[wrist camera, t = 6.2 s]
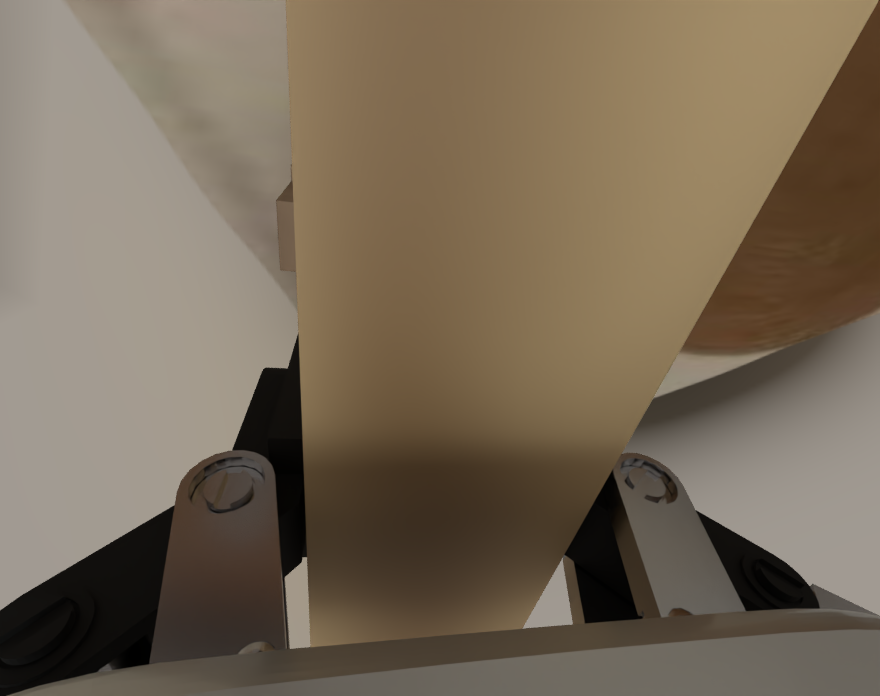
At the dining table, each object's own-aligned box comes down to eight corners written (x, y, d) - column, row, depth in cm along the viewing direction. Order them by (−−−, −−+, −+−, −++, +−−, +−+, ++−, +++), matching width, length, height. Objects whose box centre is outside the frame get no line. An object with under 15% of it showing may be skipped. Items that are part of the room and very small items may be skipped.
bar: (662, -174, 6) (1343, -763, 2) (444, 567, 17) (467, 732, 13) (340, -288, 5) (174, -2032, 1) (328, 573, 16) (312, 753, 12)
